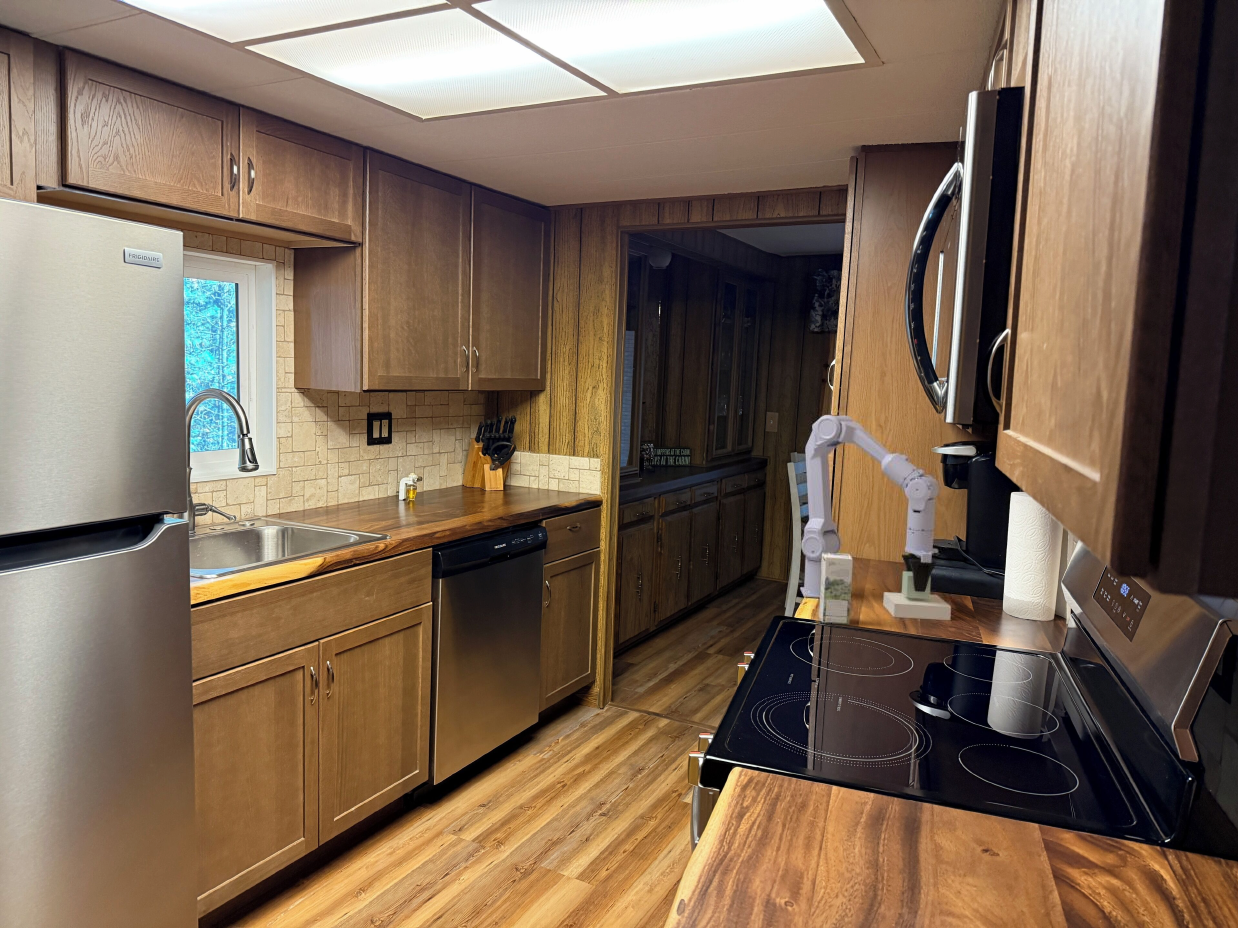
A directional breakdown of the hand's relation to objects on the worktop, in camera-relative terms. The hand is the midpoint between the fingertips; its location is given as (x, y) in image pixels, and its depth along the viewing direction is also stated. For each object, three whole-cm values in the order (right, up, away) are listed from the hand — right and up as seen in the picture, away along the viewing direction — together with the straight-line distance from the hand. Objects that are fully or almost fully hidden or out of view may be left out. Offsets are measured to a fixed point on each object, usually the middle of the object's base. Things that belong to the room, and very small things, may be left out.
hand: (916, 588), depth 193 cm
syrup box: (-21, -6, -10) cm, 25 cm away
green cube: (0, -2, 0) cm, 2 cm away
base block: (0, -5, 0) cm, 5 cm away
